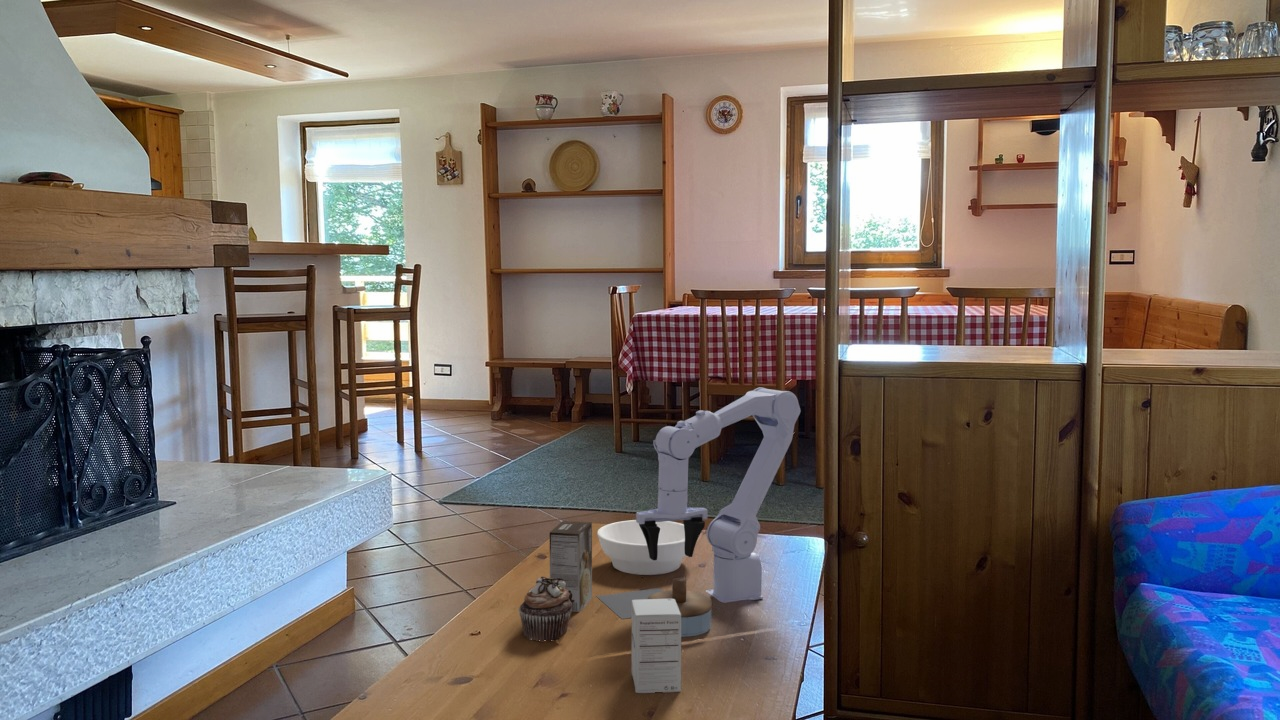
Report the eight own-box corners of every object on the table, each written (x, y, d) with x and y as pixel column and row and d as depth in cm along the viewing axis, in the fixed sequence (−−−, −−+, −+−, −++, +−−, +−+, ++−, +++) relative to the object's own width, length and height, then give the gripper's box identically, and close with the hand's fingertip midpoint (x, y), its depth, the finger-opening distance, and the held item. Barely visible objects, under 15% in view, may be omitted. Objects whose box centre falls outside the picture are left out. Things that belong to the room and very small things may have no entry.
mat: (659, 590, 189) (659, 587, 189) (688, 612, 176) (688, 609, 176) (596, 599, 184) (596, 596, 184) (621, 622, 171) (621, 619, 171)
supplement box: (630, 674, 148) (630, 598, 147) (675, 673, 148) (676, 597, 147) (634, 694, 140) (634, 614, 139) (681, 692, 141) (682, 613, 140)
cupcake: (523, 623, 170) (523, 571, 169) (574, 624, 170) (574, 572, 169) (514, 643, 160) (514, 587, 160) (568, 644, 160) (568, 588, 159)
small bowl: (694, 614, 175) (694, 594, 175) (721, 634, 165) (721, 612, 165) (642, 622, 171) (642, 601, 171) (666, 643, 161) (666, 621, 160)
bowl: (661, 548, 221) (662, 515, 220) (716, 573, 202) (716, 536, 201) (579, 562, 209) (579, 526, 209) (628, 589, 190) (629, 550, 189)
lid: (687, 591, 177) (688, 566, 176) (724, 610, 166) (724, 583, 166) (634, 601, 170) (635, 575, 170) (669, 621, 160) (669, 594, 160)
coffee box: (562, 597, 185) (562, 519, 184) (592, 599, 183) (592, 521, 182) (548, 612, 176) (548, 531, 175) (580, 615, 174) (580, 533, 173)
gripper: (697, 482, 183) (695, 548, 184) (630, 486, 177) (629, 554, 178) (713, 489, 176) (711, 558, 177) (644, 493, 171) (643, 564, 172)
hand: (671, 557), depth 177 cm, fingers open, 7 cm apart
